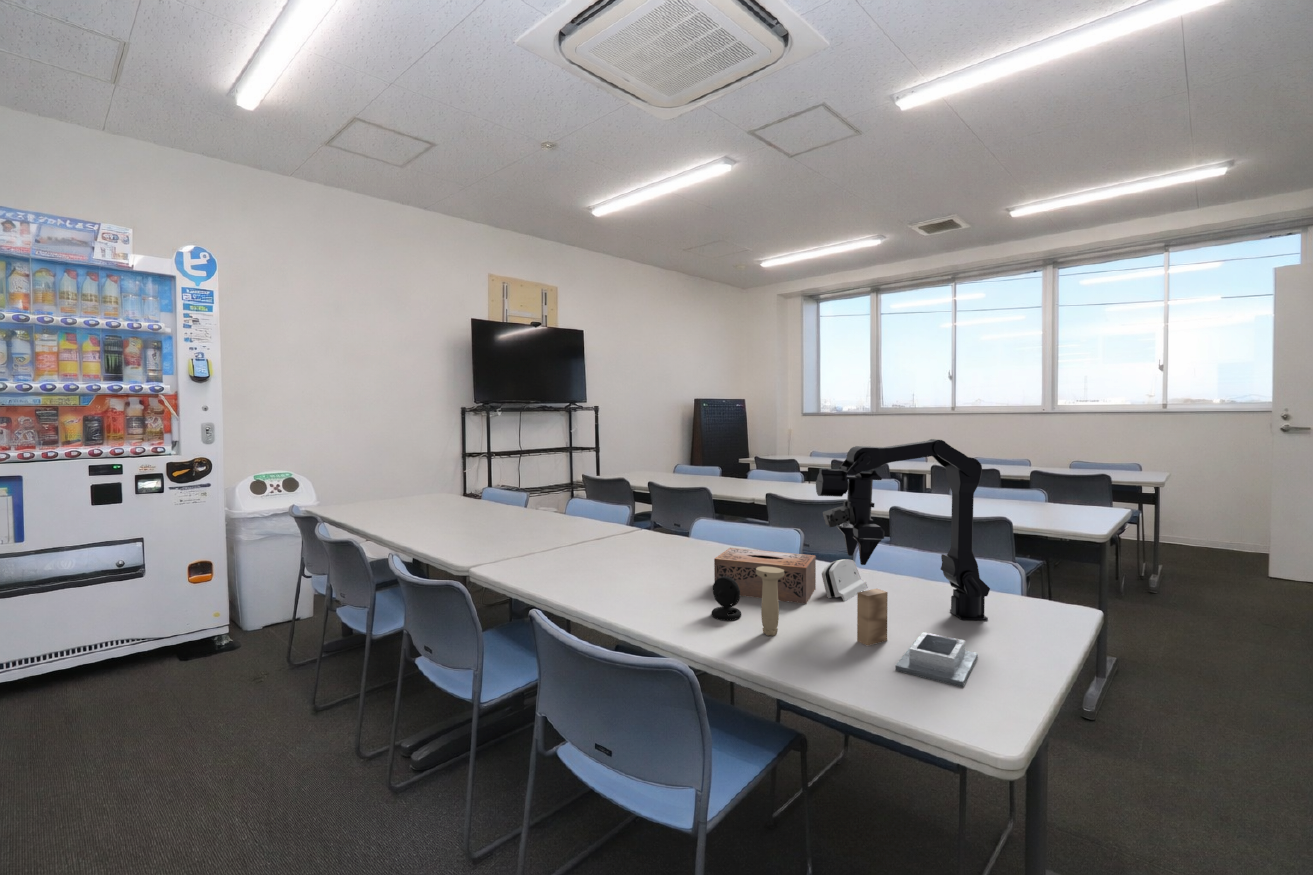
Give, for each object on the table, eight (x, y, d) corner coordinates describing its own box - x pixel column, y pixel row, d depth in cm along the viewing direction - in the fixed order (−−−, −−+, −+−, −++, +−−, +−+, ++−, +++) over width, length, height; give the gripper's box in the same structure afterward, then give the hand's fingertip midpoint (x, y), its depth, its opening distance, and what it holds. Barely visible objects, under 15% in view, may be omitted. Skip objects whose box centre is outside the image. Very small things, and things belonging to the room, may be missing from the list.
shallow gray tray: (915, 644, 128) (915, 626, 128) (977, 657, 120) (977, 638, 120) (895, 670, 115) (895, 650, 115) (963, 687, 108) (963, 665, 108)
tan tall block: (876, 636, 133) (877, 588, 132) (887, 640, 130) (887, 591, 130) (857, 641, 130) (857, 592, 130) (867, 645, 127) (867, 596, 127)
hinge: (844, 601, 157) (832, 565, 159) (828, 604, 160) (817, 568, 162) (868, 587, 170) (857, 553, 171) (853, 589, 173) (842, 556, 174)
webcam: (747, 615, 147) (747, 576, 147) (730, 623, 142) (730, 582, 141) (722, 608, 152) (722, 570, 152) (705, 616, 147) (704, 576, 147)
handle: (778, 640, 131) (778, 574, 130) (752, 634, 135) (752, 569, 134) (787, 633, 135) (787, 569, 134) (762, 627, 139) (761, 565, 138)
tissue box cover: (815, 589, 169) (815, 555, 168) (806, 604, 156) (806, 567, 155) (730, 579, 180) (729, 547, 179) (714, 593, 166) (714, 558, 166)
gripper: (816, 491, 153) (813, 550, 154) (838, 502, 134) (835, 568, 135) (858, 492, 153) (855, 551, 154) (887, 503, 135) (883, 570, 135)
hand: (856, 560), depth 144 cm, fingers open, 9 cm apart
